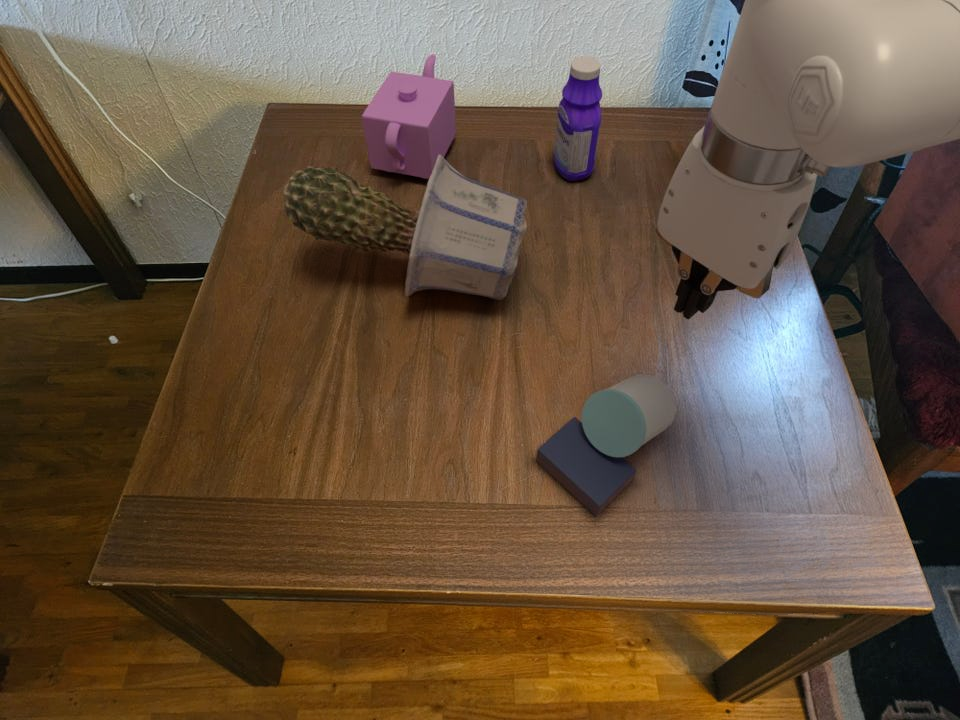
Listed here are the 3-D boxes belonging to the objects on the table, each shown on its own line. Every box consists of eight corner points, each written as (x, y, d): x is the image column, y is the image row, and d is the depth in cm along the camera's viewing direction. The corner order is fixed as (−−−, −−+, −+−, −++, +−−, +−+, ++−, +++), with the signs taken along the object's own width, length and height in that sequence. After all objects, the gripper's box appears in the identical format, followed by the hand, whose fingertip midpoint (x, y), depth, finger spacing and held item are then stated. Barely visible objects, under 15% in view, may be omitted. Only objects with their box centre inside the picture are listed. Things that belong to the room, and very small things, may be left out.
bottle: (547, 158, 102) (556, 53, 87) (580, 151, 103) (594, 46, 88) (564, 187, 98) (576, 82, 83) (598, 179, 99) (616, 74, 84)
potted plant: (544, 153, 80) (305, 87, 76) (531, 262, 70) (258, 192, 67) (508, 244, 94) (307, 191, 91) (494, 343, 85) (268, 290, 81)
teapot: (428, 198, 97) (420, 126, 86) (366, 186, 98) (352, 114, 88) (466, 121, 108) (464, 49, 97) (410, 112, 109) (402, 40, 99)
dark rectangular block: (632, 481, 70) (637, 470, 67) (595, 517, 68) (599, 506, 65) (571, 428, 74) (574, 415, 71) (535, 460, 71) (536, 448, 69)
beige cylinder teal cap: (627, 388, 77) (642, 339, 68) (676, 427, 73) (698, 381, 65) (567, 442, 73) (576, 397, 64) (616, 485, 70) (632, 444, 61)
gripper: (886, 165, 43) (783, 331, 58) (702, 74, 49) (652, 245, 64) (827, 219, 40) (734, 379, 55) (639, 115, 46) (602, 284, 61)
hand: (690, 306), depth 59 cm, fingers closed
